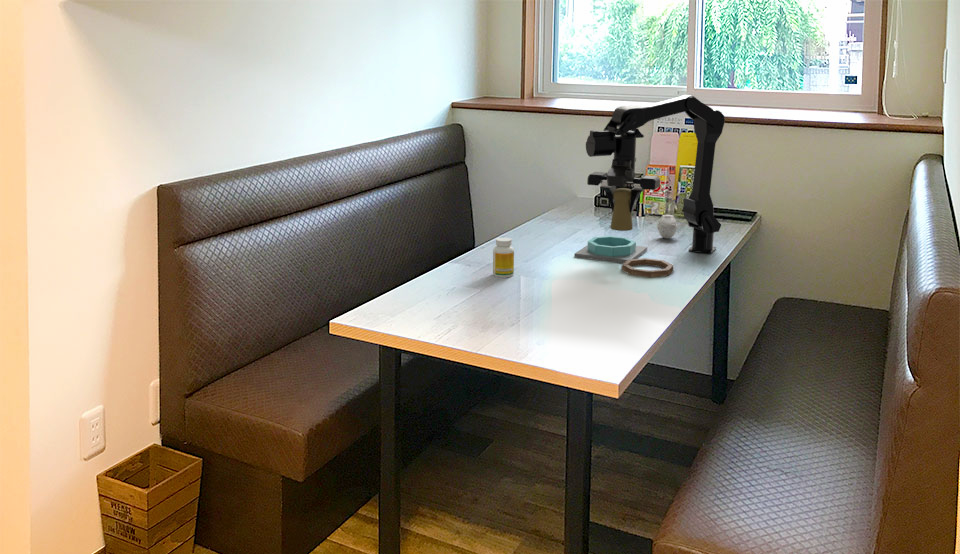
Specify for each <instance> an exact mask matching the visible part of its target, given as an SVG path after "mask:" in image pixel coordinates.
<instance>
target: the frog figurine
mask: <svg viewBox="0 0 960 554" xmlns="http://www.w3.org/2000/svg"><path fill="white" fill-rule="evenodd" d="M678 227H679V226H678V224H677V220H676V218H675V216H674V215H670V214H661V217H660V219H659V220H658V223H657V225H656V228H657V229H656V230H658V233H659V235H660V236H661V237H662V238H663V239H666V240H667V239H672V238H673V237H674V236H675V235H676V232H677V230H678Z"/></svg>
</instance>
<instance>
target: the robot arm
mask: <svg viewBox="0 0 960 554" xmlns="http://www.w3.org/2000/svg"><path fill="white" fill-rule="evenodd" d="M681 113H685V114H686V116H688V117H689V118H690V119H691V120H692V121H693V130H694V135H695V136H696V140H697V143H696V144H697V145H696V153H695V164H694V173H693V181H692V190H691V194H690V195H689V197H688V198H687V197H684V198H683V202H682V203H683V207H682V210H681V212H682V213H683V217H684V219H685V221H687V224H688V227H691V228H692V230H693V231H692V243H691V244H692V246H690V247H689V248H688V252H693V253H694V252H696V253H703V254H712V253H714V251H715V250H717V247H715V246H714V237H715V236H714V234H715V233H718V232H720V229H721V227H722V224H721V223H720V221H719V220H717V218H716V217H715V214H714V213H715V211H714V203H713V200H712V197H711V188H712V187H711V186H712V178H713V169H714V160H715V151H716V144H717V142H718V140H719V138H720V137H721V135H722V134H723V130H724V125H725V122H726V119H725V118H726V117H725V115H724V114H723V113H722V111H720V110H717V109H714V108H712V107H711V106H708V105H707V104H705V103H704V102H702V101H700V100H699V99H698V98H696V97H695V95H689V94H682V95H681V96H677V97H674V98H669V99H665V100H661V101H658V102H653V103H649V104H646V105H626V106H625V105H624V106H618V107H616V108H615V109H614V111H613V112H612V116H611V118H610V119H609V122H607V124H606V125H605V127H604V129H603V130H595V129H592V130H590V131H589V134H588V136H587V139H586V142H585V151H586V154H587V155H588V157H591V158H593V157H594V158H595V157H608V156H609V157H611V156H612V155H613V159H612V162H611V167H610V168H609V170H608V172H603V171H594V172H592V173H590V174H589V175H588V176H587V185H588V186H599V185H600V186H599V189H601V190H603V191H604V192H605V193H606V194H605V195H606V196H607V198H608V201H609V205H610V208H611V210H612V212H613V210H614V204H615V199H614V197H613V193H614V191H615V190H616V189H617V187H618V188H625V186H626V185H630V186H631V185H632V186H633V188H631V189H630V190H631V201H630V213H631V214H632V213H633V211H634V210H635V209H634V208H635V206H636V204H637V202H638V199H639V198H640V195H641V194H642V192H644V191H646V190H650V191H651V190H652V191H653V190H654V191H655V190H657V189H658V188H660V185H661V180H660V179H661V178H660V177H659V176H658V175H644V176H642V177H641V178H639V177H636V168H635V167H636V161H637V157H636V151H637V150H636V149H637V139H640V138H641V139H642V138H644V137H645V135H644V134H643V133H642V132H641V131H640V130H639V129H640V127H643V126H645V125H646V124H648V122H651V121H653V120H657V119H662V118H665V117H669V116H673V115H677V114H681Z"/></svg>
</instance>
